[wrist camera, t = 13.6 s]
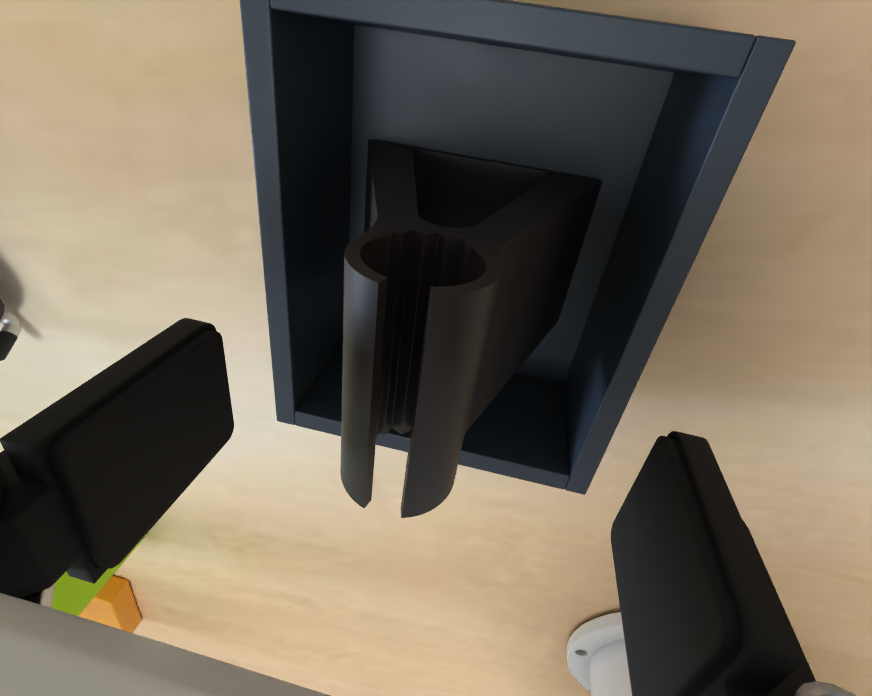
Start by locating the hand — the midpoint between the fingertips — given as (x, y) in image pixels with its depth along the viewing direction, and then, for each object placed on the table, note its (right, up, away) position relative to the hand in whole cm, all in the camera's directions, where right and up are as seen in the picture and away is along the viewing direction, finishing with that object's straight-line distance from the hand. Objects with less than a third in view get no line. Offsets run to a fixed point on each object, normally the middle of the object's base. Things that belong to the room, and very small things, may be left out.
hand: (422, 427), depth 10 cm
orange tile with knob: (-34, -23, +37) cm, 55 cm away
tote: (+2, +7, +10) cm, 12 cm away
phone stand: (+2, +7, +10) cm, 12 cm away
